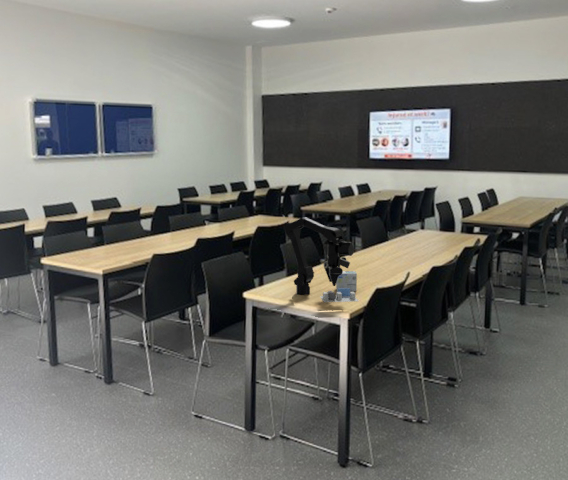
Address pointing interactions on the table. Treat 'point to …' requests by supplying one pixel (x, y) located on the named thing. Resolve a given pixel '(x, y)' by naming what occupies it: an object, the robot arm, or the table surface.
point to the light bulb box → (347, 280)
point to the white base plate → (340, 296)
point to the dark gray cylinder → (331, 295)
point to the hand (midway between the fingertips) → (332, 283)
